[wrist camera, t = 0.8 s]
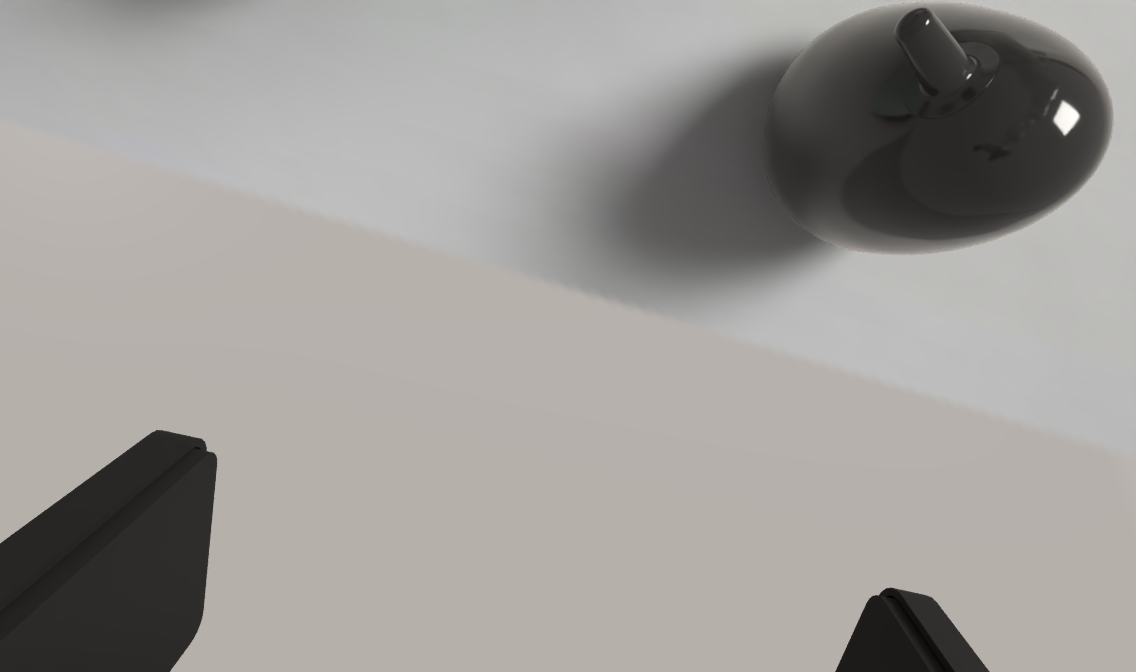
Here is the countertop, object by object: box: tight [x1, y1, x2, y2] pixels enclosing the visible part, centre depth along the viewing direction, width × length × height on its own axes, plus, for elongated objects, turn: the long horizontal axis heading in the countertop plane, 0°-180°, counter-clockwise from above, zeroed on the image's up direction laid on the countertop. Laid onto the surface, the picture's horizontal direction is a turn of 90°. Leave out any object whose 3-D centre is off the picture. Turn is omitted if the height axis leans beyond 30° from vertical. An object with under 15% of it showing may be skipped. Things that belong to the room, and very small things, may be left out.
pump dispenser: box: [763, 2, 1114, 255], centre depth 26 cm, size 10×10×15 cm
